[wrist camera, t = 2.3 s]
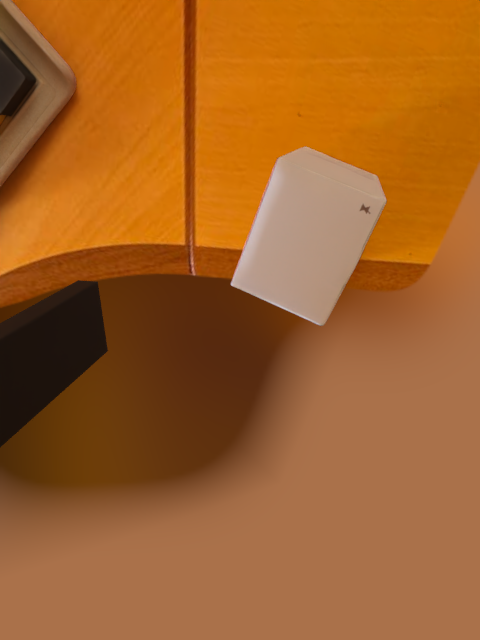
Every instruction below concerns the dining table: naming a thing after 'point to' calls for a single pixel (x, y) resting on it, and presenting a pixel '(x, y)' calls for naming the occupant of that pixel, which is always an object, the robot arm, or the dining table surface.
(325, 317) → the small box
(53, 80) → the wooden puzzle
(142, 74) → the dining table surface
